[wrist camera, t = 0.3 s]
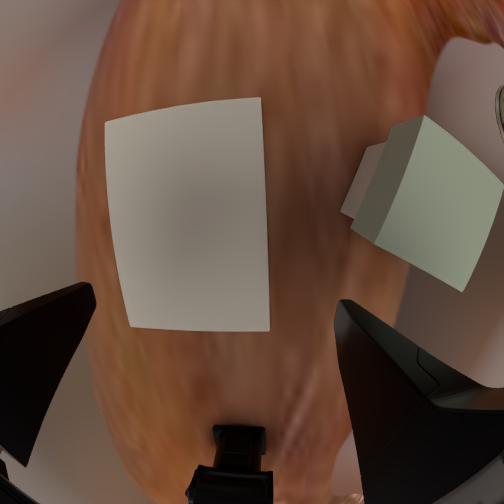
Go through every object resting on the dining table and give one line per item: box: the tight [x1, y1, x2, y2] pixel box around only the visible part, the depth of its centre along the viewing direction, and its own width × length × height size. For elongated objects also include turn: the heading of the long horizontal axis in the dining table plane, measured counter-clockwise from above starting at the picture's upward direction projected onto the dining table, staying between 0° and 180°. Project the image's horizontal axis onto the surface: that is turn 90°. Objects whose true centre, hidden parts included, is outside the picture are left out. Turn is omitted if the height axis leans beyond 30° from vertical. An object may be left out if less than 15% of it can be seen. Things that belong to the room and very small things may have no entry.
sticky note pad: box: [350, 115, 504, 292], centre depth 13 cm, size 7×7×4 cm
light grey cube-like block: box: [340, 142, 386, 219], centre depth 18 cm, size 6×6×7 cm
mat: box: [105, 97, 270, 332], centre depth 22 cm, size 20×14×1 cm
